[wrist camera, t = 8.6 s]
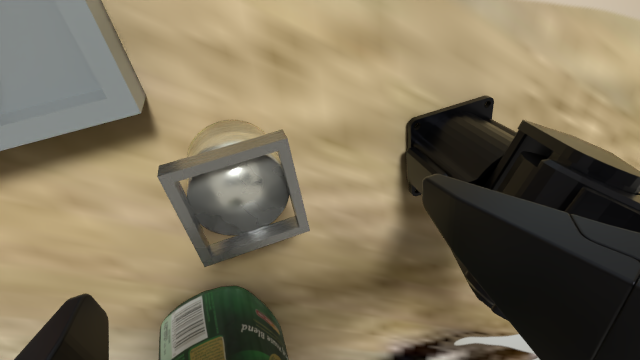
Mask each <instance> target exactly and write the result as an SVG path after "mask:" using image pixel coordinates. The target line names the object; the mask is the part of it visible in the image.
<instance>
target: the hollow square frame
mask: <svg viewBox="0 0 640 360" xmlns="http://www.w3.org/2000/svg"><path fill="white" fill-rule="evenodd" d="M276 151H278V155H279V158H280V160H279V158H278V156H277V153H276ZM158 179H159V181H160V182H161V184H162V186H163V188H164V190H165V192H166V194H167V196H168V198H169V200H170V202H171V203H172V205H173V207H174V209H175V211H176V213H177V215H178V217H179V219H180V221H181V223H182V224H183V226H184V228H185V230H186V232H187V234H188V236H189V238H190V240H191V242H192V244H193V245H194V247H195V249H196V251H197V253H198V255H199V257H200V259H201V261H202V263H203V265H204V266H205V267H206V266H209V265H212V264H215V263H218V262H221V261H224V260H227V259H229V258H232V257H235V256H238V255H241V254H244V253H247V252H250V251H252V250H255V249H258V248H261V247H264V246H267V245H270V244H273V243H276V242H278V241H281V240H284V239H287V238H290V237H293V236H296V235H299V234H302V233H304V232H307V231H310V229H309V225H308V221H307V217H306V213H305V209H304V205H303V200H302V196H301V192H300V188H299V184H298V180H297V176H296V172H295V168H294V164H293V160H292V156H291V152H290V147H289V143H288V139H287V137H286V135H285V133H284V131H283V130H279V131H276V132H273V133H269V134H265V133H264V132H263V131H262V130H261V129H260V128H258V127H257V126H255V125H253V124H251V123H248V122H244V121H239V120H225V121H220V122H217V123H214V124H212V125H210V126H208V127H206V128H205V129H203V130H202V131H201V132H199V133H198V134H197V136H196V137H195V138H194V139H193V141H192V142H191V145H190V147H189V150H188V154H187V158H184V159H181V160H177V161H174V162H170V163H167V164H163V165H160V166H159V170H158ZM184 179H187V197H186V194H185V192H184V190H183V188H182V186H181V184H180V182H179V181H180V180H184ZM289 195H290V199H291V203H292V207H293V210H294V214H295V216H294V217H291V218H288V219H285V220H282V221H279V222H276V223H273V224H271V223H272V222H273V221H274V220H275V219H276V218H277V217H278V216H279V215H280V214H281V213H282V211H283V210H284V208H285V206H286V204H287V202H288V198H289ZM200 224H201V225H202V226H203V227H205V228H206V229H208V230H210V231H213V232H216V233H219V234H223V235H238V236H235V237H232V238H229V239H226V240H223V241H220V242H217V243H214V244H211V245H210V244H209V242H208V240H207V238H206V236H205V234H204V232H203V230H202V227H201V225H200ZM269 224H270V225H269Z"/></svg>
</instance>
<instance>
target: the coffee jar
mask: <svg viewBox="0 0 640 360" xmlns="http://www.w3.org/2000/svg"><path fill="white" fill-rule="evenodd" d="M159 360H289V359H288V355H287V351H286V347H285V342H284V338H283V334H282V331H281V327H280V325H279V323H278V321H277V320H276V318H275V316H274V315H273V314H272V312H271V311H270V310H269V309H268V308H267V307H266V306H265V305H264V304H263V303H262V302H261V301H260V300H259V299H258V298H257V297H255V296H254V295H253V294H252V293H250V292H249V291H247V290H245V289H244V288H241V287H238V286H227V287H219V288H215V289H212V290H208V291H204V292H202V293H200V294H198V295H196V296H194V297H192V298H190V299H188V300H187V301H185V302H183V303H182V304H181V305H179V306H178V307H177V308H176V309H175V310H173V311H172V312H171V313H170V314H169V315H168V316H167V317H166V318H165V319H164V321H163V323H162V325H161V328H160V339H159Z"/></svg>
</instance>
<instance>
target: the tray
mask: <svg viewBox="0 0 640 360" xmlns="http://www.w3.org/2000/svg"><path fill="white" fill-rule="evenodd" d="M145 98H146V95H145V93H144V91H143V88H142V86H141V84H140V82H139V80H138V78H137V76H136V74H135V71H134V69H133V67H132V65H131V63H130V61H129V59H128V57H127V54H126V52H125V50H124V48H123V46H122V44H121V42H120V40H119V37H118V35H117V33H116V31H115V29H114V27H113V25H112V23H111V20H110V18H109V16H108V14H107V12H106V10H105V8H104V6H103V3H102V1H101V0H0V151H2V150H6V149H9V148H13V147H17V146H21V145H24V144H28V143H32V142H36V141H39V140H43V139H47V138H51V137H54V136H58V135H62V134H66V133H69V132H73V131H77V130H81V129H84V128H88V127H92V126H96V125H99V124H103V123H107V122H111V121H114V120H118V119H122V118H126V117H129V116H133V115H137V114H141V112H142V108H143V105H144V101H145Z"/></svg>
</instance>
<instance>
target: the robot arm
mask: <svg viewBox="0 0 640 360" xmlns="http://www.w3.org/2000/svg"><path fill="white" fill-rule="evenodd" d="M486 102H487V103H486ZM485 103H486V104H485ZM493 104H494V100H493V98H491V97H489V96H482V97H479V98H476V99H472V100H469V101H466V102H463V103H459V104H456V105H453V106H450V107H446V108H443V109H440V110H437V111H433V112H430V113H427V114H424V115H420V116H417V117H414V118H412V119H411V120H410V121H409V123H408V149H407V152H406V160H407V180H408V181H409V192H410V193H411V194H412V195H413V196H418V195H421V194H422V201H423V205H424V208H425V209H426V211H427V212H428V214H429V216H430V217H431V219H432V220H433V222H434V223H435V225H436V227H437V228H438V230H439V231H440V233H441V234H442V236H443V238H444V239H445V241H446V242H447V244H448V245H449V247H450V248H451V250H452V252H453V254H454V256H455V258H456V260H457V262H458V264H459V266H460V268H461V270H462V272H463V274H464V276H465V278H466V280H467V282H468V284H469V286H470V287H471V289H472V290H473V292H474V293H475V295H476V297H477V298H478V299H479V300H480V301H482V302H483V303H484V304H486V305H487V306H488V307H489V308H491V310H492V311H493V312H494V313H495V314H497V315H499V316H501V317H502V318H504V319H506V320H508V321H509V322H510V323H511V324H512V325H513V327H514V328H515V329H516V330H517V332H518V333H519V334H520V335H521V337H522V338H523V339H524V340H525V341H526V342H527V344H528V345H529V346H530V348H531V349H532V350H533V351H534V353H535V354H536V355H537V356H538V358H539V359H540V360H640V171H638V170H637V169H635V168H634V167H632V166H631V165H629V164H628V163H626V162H625V161H623V160H622V159H620V158H619V157H617V156H616V155H614V154H613V153H611V152H609V151H606V150H604V149H602V148H600V147H597V146H595V145H593V144H590V143H588V142H586V141H583V140H581V139H579V138H577V137H574V136H572V135H569V134H566V133H562V132H559V131H556V130H553V129H550V128H547V127H544V126H541V125H538V124H534V123H531V122H528V121H525V120H523V121H522V122H521V124H520V125H519V127H518V129H519V130H518V132H515V131H513V130H511V129H509V128H507V127H505V126H503V125H502V124H500V123H498V122H496V121H494V120H492V112H493ZM416 123H417V126H416V127H414V125H415V124H416ZM415 189H416V190H415ZM14 360H109V324H108V317H107V314H106V313H105V311H104V310H103V309H102V308H101V307H100V305H99V304H98V303H97V302H96V301H95V300H94V298H93V297H92V296H91V295H89V294H82V295H79V296H76V297H73V298H70V299H68V300H67V301H66V302H65V303H64V304H63V305H62V306H61V307H60V309H59V310H58V311H57V312H56V313H55V314H54V315H53V316H52V318H51V319H50V320H49V321H48V322H47V323H46V324H45V325H44V327H43V328H42V329H41V330H40V331H39V332H38V333H37V334H36V336H35V337H34V338H33V339H32V340H31V341H30V342H29V343H28V345H27V346H26V347H25V348H24V349H23V350H22V351H21V352H20V354H19V355H18V356H17V357H16V358H15V359H14Z"/></svg>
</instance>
